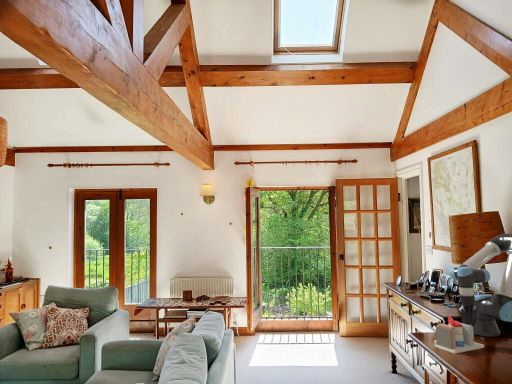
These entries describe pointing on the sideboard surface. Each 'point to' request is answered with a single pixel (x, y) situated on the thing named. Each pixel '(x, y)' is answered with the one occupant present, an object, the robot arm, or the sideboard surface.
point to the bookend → (467, 334)
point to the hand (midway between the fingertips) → (470, 338)
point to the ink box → (457, 332)
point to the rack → (451, 340)
